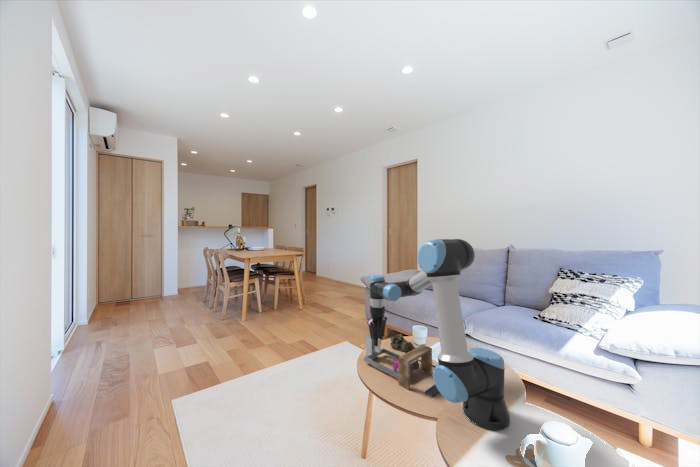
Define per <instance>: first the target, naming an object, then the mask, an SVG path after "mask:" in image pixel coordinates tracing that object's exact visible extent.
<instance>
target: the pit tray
mask: <svg viewBox="0 0 700 467" xmlns="http://www.w3.org/2000/svg"><path fill="white" fill-rule="evenodd" d="M439 393H440V392H439V391H438V389H437V387H436V385H435V383H434V384H433V385H432V386H430V387H429V388H428V389H426V390H425V391H424V394H425V395H428V396H429V397H431V398H434V397H436V395H438V394H439Z"/></svg>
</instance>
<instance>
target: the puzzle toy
mask: <svg viewBox="0 0 700 467" xmlns="http://www.w3.org/2000/svg"><path fill="white" fill-rule="evenodd" d="M393 371H395V372H397V373H399V359H396V360H394V361H393ZM410 375H412V372H411V373H410Z"/></svg>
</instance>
